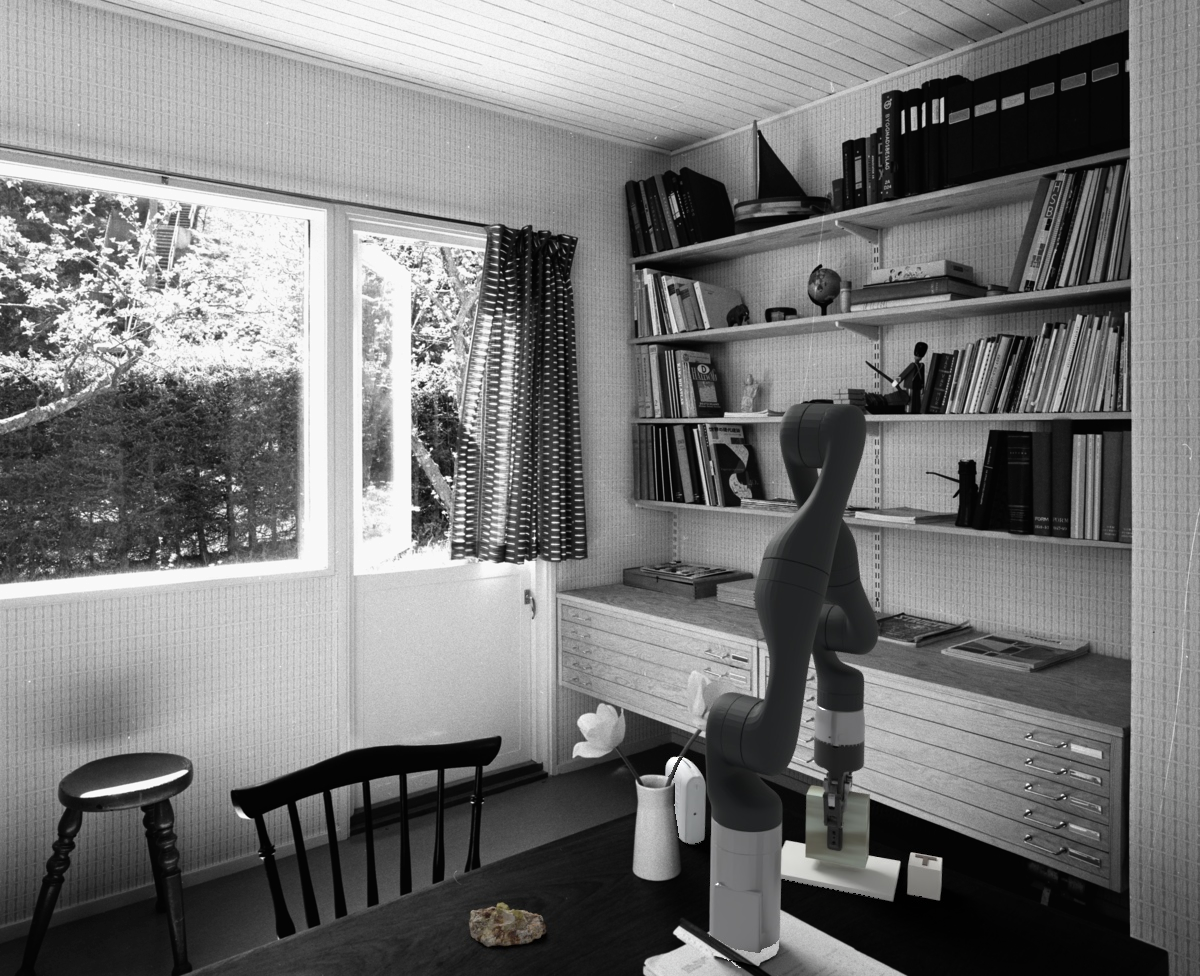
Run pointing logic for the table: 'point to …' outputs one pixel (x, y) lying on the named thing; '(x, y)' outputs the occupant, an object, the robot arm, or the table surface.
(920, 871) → the letter cube
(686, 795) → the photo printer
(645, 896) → the table surface
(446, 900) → the table surface
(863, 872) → the mat
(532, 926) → the mineral rock
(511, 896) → the table surface
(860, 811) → the pale green rectangular block
